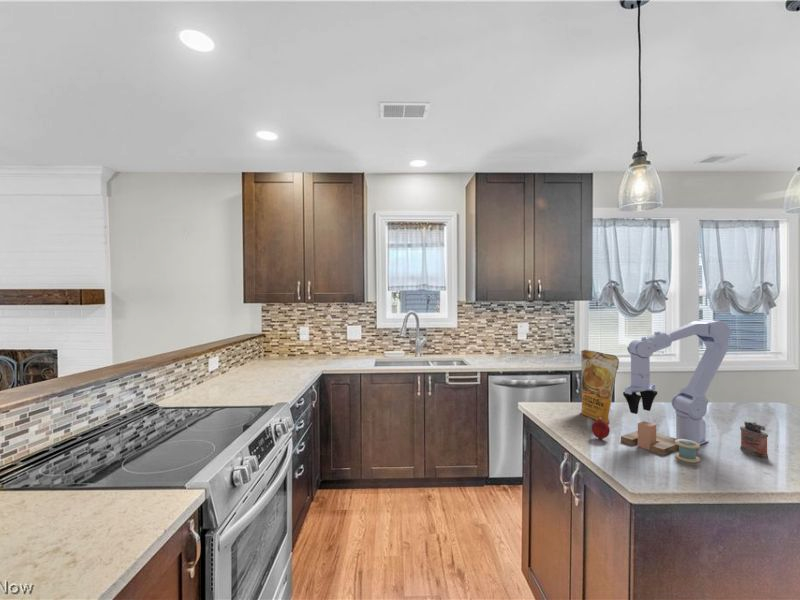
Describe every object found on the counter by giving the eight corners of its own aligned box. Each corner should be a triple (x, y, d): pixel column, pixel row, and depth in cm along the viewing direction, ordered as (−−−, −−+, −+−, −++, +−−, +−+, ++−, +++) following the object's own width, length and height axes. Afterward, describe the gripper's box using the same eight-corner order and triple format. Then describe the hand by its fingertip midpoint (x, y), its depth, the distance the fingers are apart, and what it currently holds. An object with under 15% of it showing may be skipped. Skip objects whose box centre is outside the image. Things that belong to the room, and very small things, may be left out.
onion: (612, 443, 136) (611, 420, 136) (594, 441, 138) (594, 419, 137) (606, 437, 142) (606, 415, 142) (589, 436, 143) (589, 414, 143)
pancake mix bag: (587, 410, 175) (587, 349, 174) (620, 424, 156) (620, 355, 156) (574, 411, 173) (574, 349, 173) (606, 425, 155) (606, 355, 154)
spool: (681, 452, 127) (681, 437, 127) (704, 459, 122) (703, 444, 122) (671, 457, 124) (670, 441, 124) (694, 464, 119) (694, 448, 119)
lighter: (737, 448, 130) (737, 419, 130) (746, 448, 131) (746, 418, 131) (761, 458, 122) (761, 427, 122) (771, 458, 123) (771, 426, 123)
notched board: (642, 434, 144) (642, 429, 144) (685, 446, 132) (685, 441, 132) (620, 441, 137) (620, 436, 137) (663, 455, 125) (663, 449, 125)
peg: (644, 443, 135) (644, 421, 135) (656, 447, 132) (656, 424, 132) (637, 446, 133) (637, 423, 133) (650, 450, 130) (649, 426, 130)
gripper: (639, 377, 131) (639, 417, 131) (663, 373, 138) (664, 411, 138) (619, 374, 138) (619, 412, 138) (643, 370, 144) (643, 406, 144)
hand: (640, 411), depth 138 cm, fingers open, 7 cm apart
